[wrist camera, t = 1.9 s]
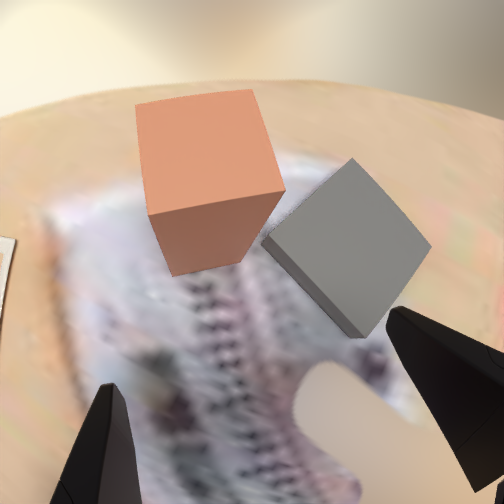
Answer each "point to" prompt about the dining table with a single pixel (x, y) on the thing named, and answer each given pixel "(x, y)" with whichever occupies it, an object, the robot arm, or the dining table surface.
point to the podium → (349, 249)
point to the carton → (206, 177)
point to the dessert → (5, 263)
